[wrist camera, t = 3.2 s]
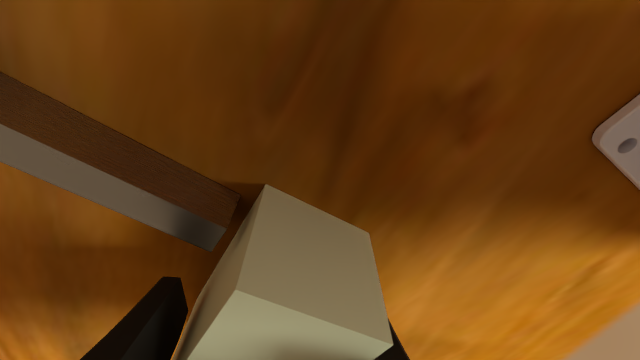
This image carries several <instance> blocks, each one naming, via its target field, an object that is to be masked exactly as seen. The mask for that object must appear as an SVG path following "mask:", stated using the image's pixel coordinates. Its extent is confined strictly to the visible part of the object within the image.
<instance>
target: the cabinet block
mask: <svg viewBox="0 0 640 360" xmlns="http://www.w3.org/2000/svg"><path fill="white" fill-rule="evenodd" d="M391 346H393V340H392V336H391V331H390V327H389V322H388V318H387V313H386V308H385V304H384V299H383V295H382V290H381V286H380V281H379V276H378V272H377V267H376V263H375V258H374V254H373V249H372V244H371V240H370V235H369V233H368V232H366V231H364V230H362V229H360V228H358V227H356V226H353V225H351V224H349V223H347V222H345V221H343V220H341V219H339V218H337V217H335V216H332V215H330V214H328V213H326V212H324V211H322V210H320V209H318V208H316V207H314V206H311V205H309V204H307V203H305V202H303V201H301V200H299V199H297V198H295V197H293V196H290V195H288V194H286V193H284V192H282V191H280V190H278V189H276V188H274V187H272V186H269V185H267V184H265V186H264V188H263V189H262V191H261V193H260V194H259V196H258V198H257V199H256V201H255V203H254V204H253V206H252V208H251V209H250V211H249V213H248V214H247V216H246V218H245V219H244V221H243V223H242V224H241V226H240V228H239V229H238V231H237V233H236V234H235V236H234V238H233V239H232V241H231V243H230V244H229V246H228V248H227V249H226V251H225V253H224V254H223V256H222V258H221V259H220V261H219V263H218V264H217V266H216V268H215V269H214V271H213V273H212V274H211V276H210V278H209V279H208V281H207V283H206V284H205V286H204V288H203V289H202V291H201V293H200V294H199V296H198V298H197V300H196V302H195V305H194V307H193V310H192V312H191V315H190V317H189V320H188V322H187V324H186V327H185V329H184V332H183V334H182V337H181V339H180V342H179V344H178V347H177V349H176V351H175V354H174V356H173V359H172V360H374V359H375V358H376V357H378V356H379V355H381V354H382V353H383V352H385V351H386V350H387V349H389V348H390V347H391Z"/></svg>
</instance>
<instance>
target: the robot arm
mask: <svg viewBox="0 0 640 360" xmlns="http://www.w3.org/2000/svg"><path fill="white" fill-rule="evenodd" d="M623 141H624V142H623ZM592 142H593V144H594V145H595V146H596V147H597V148H598V149H599V150H600V151H601V152H602V153H603V154H604V155H605V156H606V157H607V158H608V159H609V160H610V161H611V162H612V163H613V164H614V165H615V166H616V167H617V168H618V169H619V170H620V171H621V172H622V173H623V174H624V175H625V176H626V177H627V178H628V179H629V180H630V181H631V182H632V183H633V184H634V185H635V186H636V187H637V188H638V189H639V190H640V94H639V95H638V96H637V97H635V98H634V99H633V100H632V101H630V102H629V103H628V104H626V105H625V106H624V107H623V108H621V109H620V110H619V111H617V112H616V113H615V114H614V115H612V116H611V117H610V118H609V119H607V120H606V121H605V122H603V123H602V124H601V125H600V126H599V127H598V128H597V129H596V130H595V132H594V134H593V136H592ZM622 142H623V143H622ZM621 143H622V144H621ZM620 144H621V145H620ZM187 313H188V308H187V303H186V299H185V295H184V291H183V287H182V283H181V278H178V277H162V278H161V279H160V280H159V281H158V282H157V283H156V284H155V286H154V287H153V288H152V289H151V290H150V291H149V292H148V293H147V294H146V295H145V296H144V297H143V298H142V299H141V300H140V301H139V302H138V303H137V305H136V306H135V307H134V308H133V309H132V310H131V311H130V312H129V313H128V314H127V315H126V316H125V317H124V318H123V319H122V320H121V321H120V322H119V323H118V324H117V325H116V326H115V327H114V328H113V329H112V330H111V331H110V332H109V333H108V334H107V335H106V336H105V337H104V338H103V339H101V340H100V341H99V342H98V343H97V344H96V345H95V346H94V347H93V348H92V349H91V350H90V351H89V352H87V353H86V354H85V355H84V356H83V357H82V358H81V359H80V360H170V359H171V357H172V354H173V352H174V350H175V348H176V345H177V343H178V341H179V338H180V335H181V332H182V329H183V326H184V323H185V320H186V316H187ZM387 318H388V317H387ZM388 322H389V327H390V331H391V336H392V340H393V346H391V347H390V348H389V349H387V350H386V351H385V352H383V353H382V354H381V355H379V356H378V357H376V358H375V359H374V360H410V359H409V357H408V356H407V354H406V352H405V350H404V348H403V346H402V345H401V343H400V341H399V339H398V337H397V335H396V333H395V331H394V329H393V327H392V325H391V323H390V321H389V319H388Z"/></svg>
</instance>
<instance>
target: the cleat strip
mask: <svg viewBox="0 0 640 360" xmlns="http://www.w3.org/2000/svg"><path fill="white" fill-rule="evenodd" d="M0 162H2V163H5V164H7V165H9V166H12V167H14V168H16V169H19V170H21V171H23V172H25V173H28V174H30V175H32V176H35V177H37V178H39V179H42V180H44V181H46V182H49V183H51V184H53V185H56V186H58V187H60V188H63V189H65V190H67V191H70V192H72V193H74V194H77V195H79V196H81V197H84V198H86V199H88V200H91V201H93V202H95V203H98V204H100V205H102V206H105V207H107V208H109V209H112V210H114V211H116V212H119V213H121V214H123V215H126V216H128V217H130V218H133V219H135V220H137V221H139V222H142V223H144V224H146V225H149V226H151V227H153V228H156V229H158V230H160V231H163V232H165V233H167V234H170V235H172V236H174V237H177V238H179V239H181V240H184V241H186V242H188V243H191V244H193V245H195V246H198V247H200V248H202V249H205V250H207V251H209V252H212V250H213V249H214V247H215V246H216V244H217V243H218V242H219V240H220V239H221V237H222V236H223V234H224V233H225V231H226V230H227V228H228V225H229V223H230V220H231V218H232V215H233V213H234V210H235V208H236V205H237V203H238V200H239V198H240V195H239V194H237V193H235V192H233V191H231V190H229V189H227V188H225V187H223V186H222V185H220V184H218V183H216V182H214V181H212V180H210V179H208V178H206V177H204V176H202V175H200V174H198V173H196V172H194V171H192V170H190V169H188V168H186V167H184V166H182V165H181V164H179V163H177V162H175V161H173V160H171V159H169V158H167V157H165V156H163V155H161V154H159V153H157V152H155V151H153V150H151V149H149V148H147V147H145V146H143V145H142V144H140V143H138V142H136V141H134V140H132V139H130V138H128V137H126V136H124V135H122V134H120V133H118V132H116V131H114V130H112V129H110V128H108V127H106V126H104V125H102V124H101V123H99V122H97V121H95V120H93V119H91V118H89V117H87V116H85V115H83V114H81V113H79V112H77V111H75V110H73V109H71V108H69V107H67V106H65V105H63V104H61V103H60V102H58V101H56V100H54V99H52V98H50V97H48V96H46V95H44V94H42V93H40V92H38V91H36V90H34V89H32V88H30V87H28V86H26V85H24V84H22V83H21V82H19V81H17V80H15V79H13V78H11V77H9V76H7V75H5V74H3V73H1V72H0Z"/></svg>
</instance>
